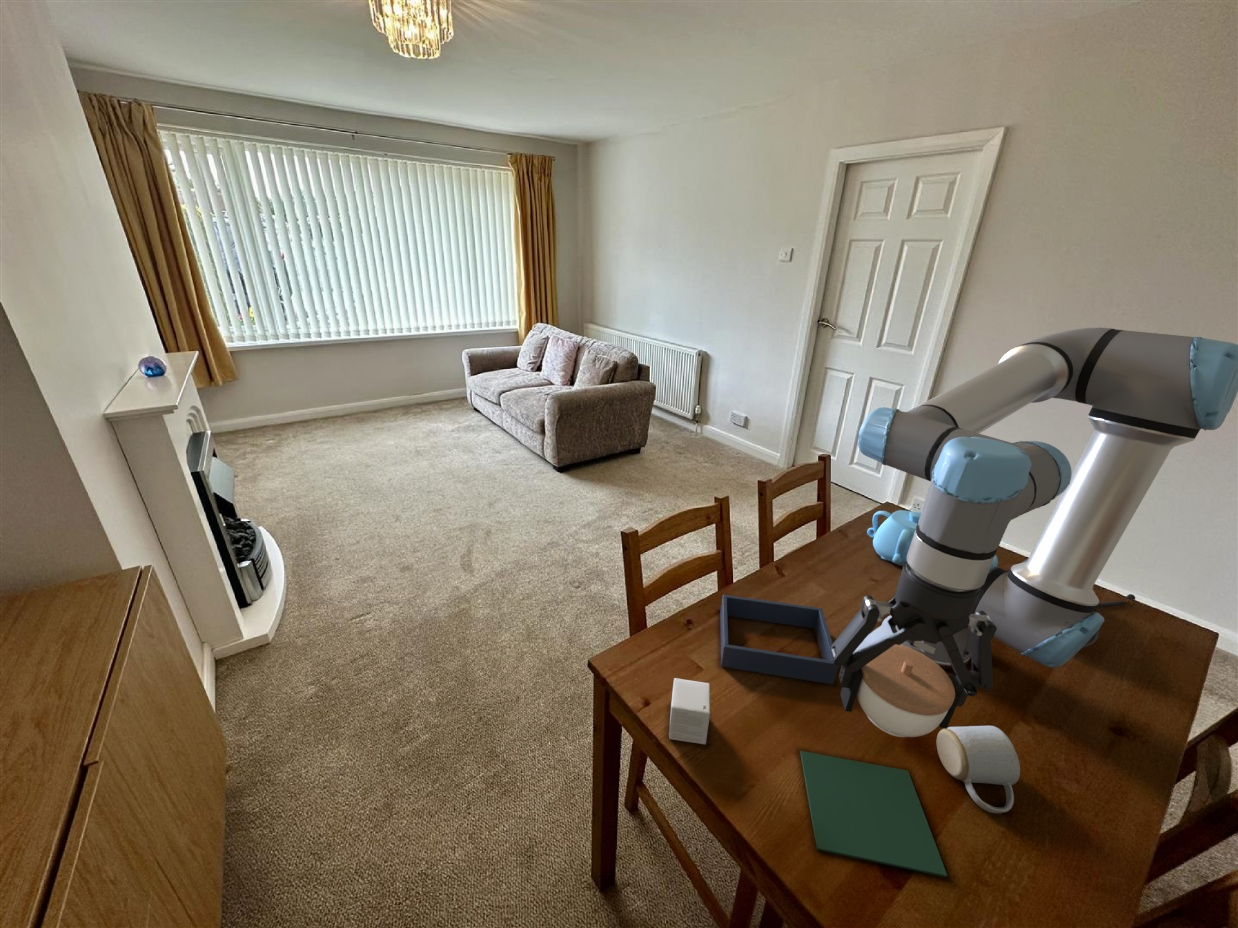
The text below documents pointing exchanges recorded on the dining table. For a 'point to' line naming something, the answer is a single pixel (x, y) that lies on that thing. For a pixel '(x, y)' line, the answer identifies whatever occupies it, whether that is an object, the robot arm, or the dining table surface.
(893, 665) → the trinket box
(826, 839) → the mat
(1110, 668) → the dining table surface
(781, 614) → the storage box
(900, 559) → the decorative pot
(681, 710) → the product box
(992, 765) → the ceramic mug
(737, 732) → the dining table surface
